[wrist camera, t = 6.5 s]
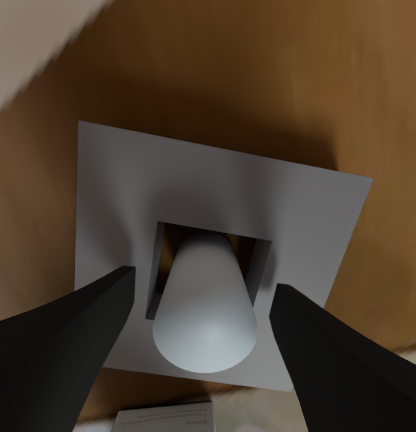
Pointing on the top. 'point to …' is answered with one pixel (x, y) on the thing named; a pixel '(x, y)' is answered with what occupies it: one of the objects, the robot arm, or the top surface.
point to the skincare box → (167, 419)
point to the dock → (210, 220)
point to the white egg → (205, 308)
